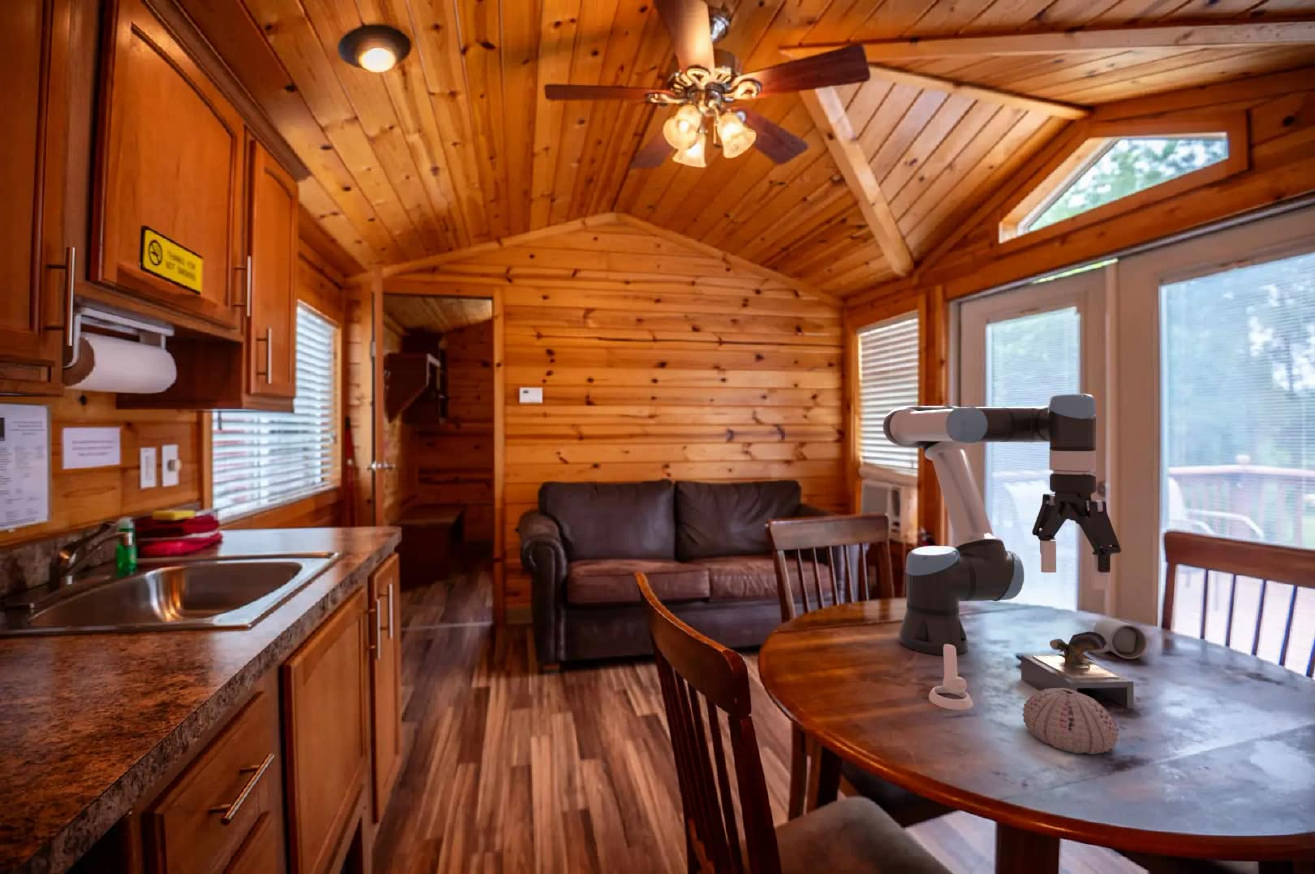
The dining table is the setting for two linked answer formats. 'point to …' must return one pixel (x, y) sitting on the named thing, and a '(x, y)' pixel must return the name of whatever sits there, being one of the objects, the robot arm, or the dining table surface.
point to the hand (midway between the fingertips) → (1072, 580)
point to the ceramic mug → (1121, 638)
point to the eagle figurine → (1079, 646)
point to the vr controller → (951, 684)
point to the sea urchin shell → (1070, 721)
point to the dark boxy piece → (1076, 677)
